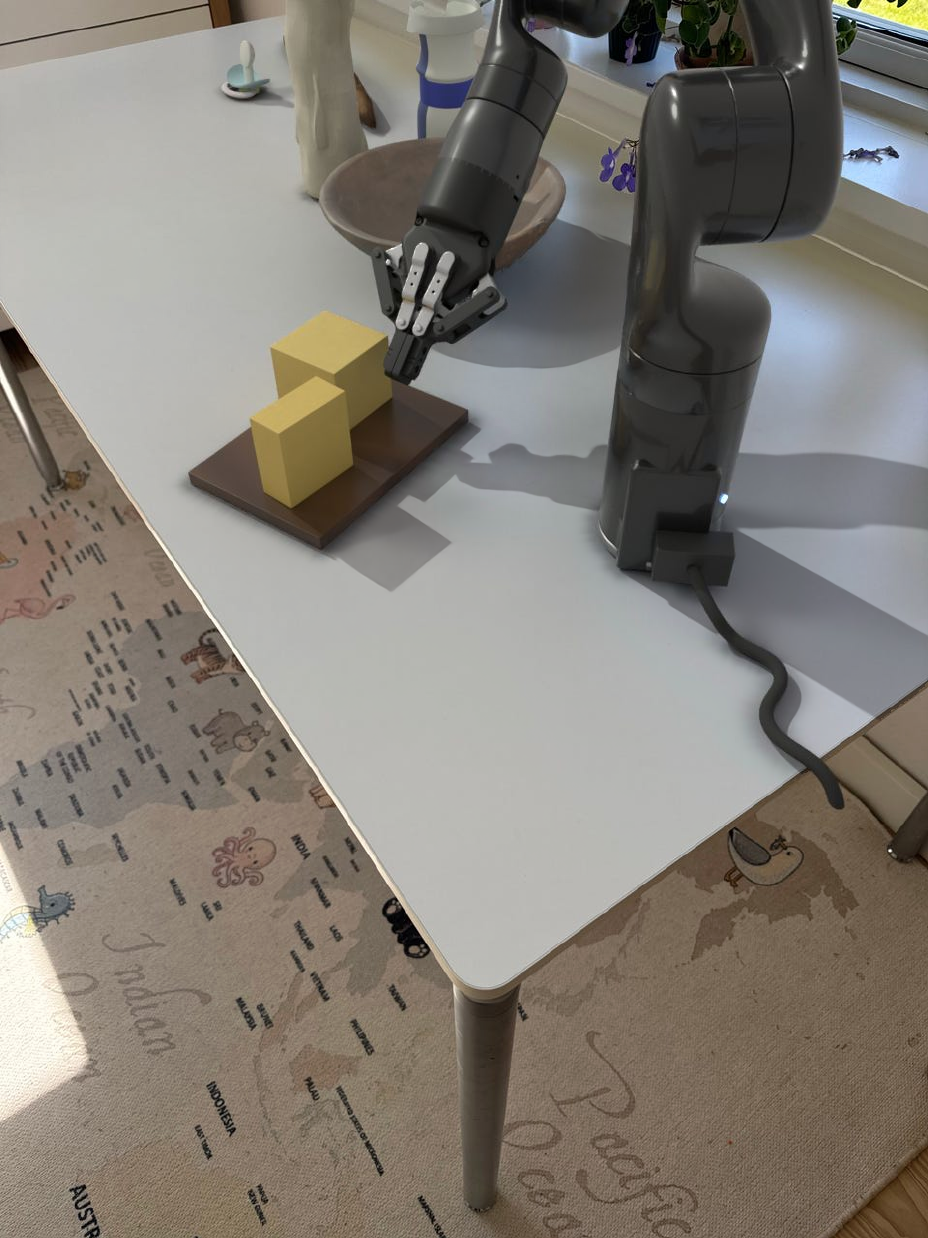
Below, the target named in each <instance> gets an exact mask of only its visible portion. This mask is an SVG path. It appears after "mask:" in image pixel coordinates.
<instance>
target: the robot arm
mask: <svg viewBox="0 0 928 1238" xmlns="http://www.w3.org/2000/svg"><path fill="white" fill-rule="evenodd" d="M629 2H630V0H494V2H493V8H492V13H491V19H490V24H489V28H488V33H487V37H486V41H485V46H484V49H483V53H482V55H481V59H480V61H479V66H478V69H477V72H476V74H475V76H474V79H473V81H472V84H471V86H470V89H469V91H468V93H467V96H466V98H465V101H464V103H463V105H462V107H461V109H460V111H459V113H458V115H457V116H456V118H455V120H454V121H453V123H452V125H451V127H450V129H449V131H448V133H447V136H446V138H445V141H444V143H443V145H442V148H441V150H440V153H439V155H438V158H437V160H436V162H435V165H434V167H433V170H432V172H431V175H430V177H429V179H428V182H427V184H426V187H425V189H424V192H423V194H422V197H421V199H420V201H419V204H418V206H417V214H416V220H415V223H414V225H413V226H412V228H411V229H410V230H409V231H408V232H407V233H406V234H405V235H404V237H403V239H402V243H401V245H398V246H396V247H394V248H392V249H389V250H387V251H384V250H383V249H382V248H379V247H378V248H375V249H374V250H373V251H372V253H371V257H370V258H371V264H372V270H373V275H374V278H375V279H374V280H375V284H376V289H377V294H378V299H379V304H380V310H381V313H382V315H383V316H385V317H386V318H388V320H390V322H392V324H393V325H394V328H395V329H394V334H393V336H392V339H391V340H390V342H389V349H388V351H387V354H386V355H385V358H384V361H383V367H385V370H384V374H385V376H387V377H389V378H391V379H392V380H395V381H397V382H400V383H402V384H405V385H409V386H410V384H411V383H412V381H416V380H417V378H418V377H419V376H420V374H421V372H422V369H423V367H424V364H425V362H426V360H427V358H428V355H429V353H430V351H431V350H430V349H431V348H432V347H433V346H434V345H435V344H437V343H438V344H439V343H447V344H449V345H455V344H456V343H458V342H460V341H461V340H463V339H464V338H465V337H468V336H469V335H470V334H472V333H473V332H474V331H476V330H477V329H479V328H480V327H482V326H483V325H484V324H486V323H488V322H490V321H491V320H492V319H494V318H495V317H497V316H498V315H500V314H501V313H502V312H504V311H505V310H506V309H507V308H508V306H509V301H508V298H506V297H505V295H504V294H503V293H502V292H501V291H500V289H499V288H498V285H497V284H496V281H495V280H494V277H495V274H496V273H495V271H496V256H497V253H498V252H499V251H500V250H501V249H502V247H503V245H504V242H505V240H506V238H507V235H508V233H509V231H510V228H511V226H512V223H513V221H514V219H515V216H516V214H517V212H518V209H519V207H520V205H521V202H522V200H523V197H524V195H525V193H526V192H527V190H528V188H529V185H530V181H531V179H532V176H533V173H534V171H535V168H536V164H537V161H538V157H539V156H540V153H541V149H542V148H543V144H544V141H545V139H546V137H547V135H548V133H549V131H550V128H551V125H552V123H553V120H554V118H555V115H556V113H557V112H558V109H559V106H560V104H561V101H562V99H563V96H564V94H565V92H566V88H567V85H568V80H569V79H568V78H569V74H568V73H569V72H568V69H567V66H566V64H565V62H564V61H563V59H562V58H561V57H560V56H559V55H558V54H557V53H556V52H555V51H554V50H553V49H551V48H550V47H549V46H548V45H546V44H545V43H543V42H542V41H541V40H540V39H538V38H536V37H535V36H534V35H532V33H530V32H529V31H528V30H527V27H528V24H529V21H530V20H531V19H532V20H536V21H539V22H540V23H544V24H546V25H549V26H552V27H554V28H558V29H560V30H563V31H566V32H568V33H571V34H574V35H576V36H580V37H582V38H587V39H599V38H602V37H603V36H605V35H607V34H608V33H609V32H611V31H612V30H613V29H615V27H616V26H617V25H618V24H619V23H620V21H621V19H622V18H623V16H624V14H625V13H626V10H627V8H628V6H629ZM738 2H739V4H740V5H739V6H740V7H741V12H742V14H743V17H744V20H745V25H746V28H747V32H748V36H749V37H748V38H749V42H750V46H751V52H752V57H753V63H754V65H745V66H743V65H742V66H723V67H722V66H721V67H701V68H699V67H698V68H687V69H685V68H684V69H676V70H672V71H669V72H667V73H665V74H663V75H662V76H661V77H660V78H658V79H657V81H656V83H655V84H654V85H653V86H652V89H651V91H650V93H649V95H648V97H647V99H646V103H645V106H644V109H643V112H642V116H641V123H640V127H639V134H638V141H637V143H638V144H637V154H636V164H635V165H636V166H635V180H634V183H635V184H634V199H633V212H632V213H633V214H632V215H633V216H632V224H631V225H632V226H631V238H630V247H629V257H628V265H627V277H626V293H625V307H624V317H623V325H622V333H621V340H620V348H619V350H620V351H619V357H618V365H617V372H616V379H615V386H614V395H613V402H612V409H611V410H612V411H611V418H610V426H609V435H608V441H607V449H606V458H605V464H604V466H605V467H604V473H603V481H602V489H601V490H602V491H601V499H600V507H599V509H598V512H597V520H596V530H597V531H596V533H597V535H598V538H599V540H600V542H601V543H602V545H603V546H604V548H605V549H606V550H607V551H608V552H609V553H610V554H611V555H613V556H614V557H615V560H616V562H615V563H616V567H617V568H619V569H625V570H638V571H650V573H651V574H650V575H651V579H650V580H651V581H652V582H661V583H674V584H686V585H687V584H688V585H691V586H692V587H693V589H694V592H695V595H696V596H697V599H698V601H699V603H700V605H701V607H702V610H704V612H705V614H706V616H707V617H708V619H709V621H710V622H711V624H712V625H713V627H714V628H715V629H716V631H717V633H719V635H720V636H721V637H722V638H723V639H724V640H725V641H726V642H727V643H728V644H729V645H730V646H731V647H733V648H734V649H736V650H737V651H739V652H740V653H742V654H744V655H746V656H747V657H749V658H752V659H754V660H756V661H758V662H759V663H761V664H763V665H764V666H766V667H767V668H768V669H769V671H770V672H771V674H772V676H773V682H772V684H771V686H770V687H769V688H768V690H767V692H766V693H765V695H764V697H763V698H762V700H761V702H760V704H759V708H758V720H759V723H760V724H759V725H760V726H761V728H762V731H763V733H764V735H766V737H767V738H768V740H770V741H771V742H772V743H773V744H774V746H776V747H777V748H778V749H780V750H781V751H783V752H784V753H786V754H787V755H788V756H790V757H791V758H793V759H794V760H796V761H797V762H799V763H800V764H801V765H803V766H804V767H806V768H807V769H808V770H809V771H810V772H812V774H813V775H814V776H815V777H816V778H817V779H818V781H819V782H820V784H821V786H822V788H823V790H824V793H825V795H826V799H827V802H828V803H829V805H830V806H831V808H833V809H835V810H837V811H838V810H839V811H841V810H843V809H845V807H846V805H845V799H844V796H843V795H844V794H843V791H842V788H841V786H840V784H839V782H838V779H837V778H836V775H835V774H834V772H833V771H832V770H831V769H830V767H829V766H828V765H827V764H826V762H824V761H823V760H822V759H821V758H820V757H818V756H817V755H816V754H815V753H813V752H812V751H811V750H809V749H808V748H806V746H803V745H801V744H800V743H798V742H797V741H796V740H794V739H793V738H792V737H790V736H788V735H787V734H786V733H785V731H783V730H782V729H781V728H780V727H779V725H778V724H777V721H776V719H775V716H774V713H775V710H776V707H777V705H778V704H779V702H780V701H781V699H782V697H783V696H784V694H785V692H786V690H787V688H788V683H789V675H788V674H789V673H788V671H787V668H786V666H785V664H784V662H783V661H782V660H781V659H780V658H779V657H778V656H777V655H775V654H774V653H773V652H772V651H769V650H768V649H766V648H764V647H762V646H760V645H757V644H756V643H753V642H751V641H750V640H748V639H746V638H745V637H743V636H742V635H740V633H738V631H736V629H734V628H733V627H732V626H731V624H730V623H729V622H728V620H727V619H726V617H725V616H724V615H723V613H722V611H721V610H720V608H719V606H718V605H717V603H716V601H715V599H714V597H713V595H712V593H711V591H710V589H709V587H708V586H711V587H712V586H713V587H723V588H727V587H728V585H729V580H730V577H731V574H732V570H733V567H734V563H735V560H736V551H735V550H736V549H735V540H734V539H735V538H734V532H731V531H721V525H722V521H723V519H724V513H725V510H726V506H727V500H728V498H729V493H730V488H731V485H732V481H733V477H734V474H735V470H736V469H735V468H736V465H737V461H738V456H739V452H740V448H741V444H742V441H743V437H744V432H745V429H746V426H747V425H746V424H747V420H748V416H749V413H750V409H751V405H752V404H751V403H752V401H753V396H754V392H755V388H756V385H757V381H758V377H759V373H760V369H761V365H762V360H763V356H764V353H765V348H766V344H767V341H768V337H769V333H770V328H771V324H772V306H771V302H770V299H769V298H768V296H767V294H766V293H765V292H764V290H762V288H761V287H760V285H758V284H757V283H755V282H754V281H753V280H751V279H750V278H749V277H747V276H745V275H744V274H741V273H740V272H738V271H736V270H734V269H731V268H729V267H726V266H723V265H720V264H718V263H716V262H712V261H708V260H706V259H703V258H701V257H699V256H696V254H697V250H698V249H699V247H705V246H726V245H744V244H745V245H746V244H761V243H777V242H789V241H796V240H801V239H806V238H808V237H811V236H813V235H815V233H817V232H819V230H821V228H822V227H823V226H824V225H825V223H826V222H827V221H828V218H829V217H830V215H831V214H832V211H833V209H834V206H835V204H836V200H837V197H838V194H839V189H840V186H841V178H842V172H843V171H842V170H843V162H844V148H845V147H844V145H845V142H844V140H845V139H844V138H845V136H844V134H845V131H844V129H845V124H844V123H845V122H844V121H845V120H844V105H843V95H842V83H841V74H840V65H839V64H840V63H839V57H838V56H839V55H838V49H837V39H836V30H835V23H834V14H833V6H832V0H738ZM404 266H405V272H406V274H404ZM403 275H405V277H406V280H405V284H404V286H403V284H402V279H401V277H402V276H403ZM470 296H471V297H470ZM469 297H470V298H469ZM467 298H469V299H467ZM466 299H467V300H466ZM464 300H466V301H465V302H464V303H462V302H463V301H464ZM461 303H462V304H461Z"/></svg>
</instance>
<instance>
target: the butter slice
mask: <svg viewBox="0 0 928 1238" xmlns="http://www.w3.org/2000/svg"><path fill="white" fill-rule="evenodd" d="M249 423H250V427H251V429H252V434H253V439H254V444H255V449H256V454H257V460H258V465H259V470H260V475H261V480H262V485H263V490H264V492H265V493H266V494H268V495H270V496H271V497H273V498H275V499H276V500H278V501H280V502H281V503H283V504H285V505H286V506H288V507H290V508H293V507H294V506H296V505H297V504H299V503H300V502H301V501H303V500H304V499H306V498H307V497H309V496H310V495H311V494H313V493H314V492H316V491H317V490H319V489H320V488H321V487H323V486H324V485H326V484H327V483H328V482H330V481H331V480H333V479H334V478H336V477H337V476H338V475H340V474H341V473H343V472H344V471H345V470H347V469H348V468H350V467H351V466H353V458H352V448H351V439H350V430H349V420H348V411H347V402H346V392H345V391H344V390H342V389H340V388H338V387H336V386H335V385H333V384H331V383H329V382H327V381H325V380H323V379H321V378H319V377H317V376H315V377H314V378H312V379H311V380H309V381H307V382H306V383H304V384H303V385H301V386H299V387H298V388H296V389H295V390H293V391H291V392H290V393H288V394H287V395H285V396H283V397H282V398H280V399H277V400H275V401H273V402H271V404H269V405H267V406H266V407H264V408H262V409H261V410H258V411H257V412H256V413H254V414H252V415H251V416H250V417H249Z"/></svg>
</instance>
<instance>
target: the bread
mask: <svg viewBox="0 0 928 1238" xmlns="http://www.w3.org/2000/svg"><path fill="white" fill-rule="evenodd" d="M282 39H283V40H282V41H283V45H284V46H285V39H284V35H282ZM354 80H355V87H356V94H357V102H358V110H359V118H360V122H361V124H364V125H366V126H367V127H369V128H370V129H376V128H377V120H376V114H375V108H374V103H373V101H372V98H371V97H370V95H369V93H368V91H367V90H366V88H365V87H364V85H363V83H362V81H361V80H360V78H359V76H358V75H357V74H356V72H355V71H354Z"/></svg>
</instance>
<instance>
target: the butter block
mask: <svg viewBox="0 0 928 1238" xmlns="http://www.w3.org/2000/svg"><path fill="white" fill-rule="evenodd" d="M389 346H390V341H389V335H388V334H386V333H383V332H381V331H378V330H376V329H373V328H371V327H368V326H366V325H363V324H361V323H358V322H356V321H353V320H352V319H351V320H350V319H348V318H345V317H343V316H341V315H338V314H335V313H332V312H331V311H328V310H323V311H321V312H319V314H317V315H315V316H314V317H313V318H311V319H309V320H308V321H306V322H305V323H303V324H302V325H301V326H299V327H297V328H296V329H294V330H293V331H291V332H289V333H288V334H287V335H285V336H284V337H282V338H281V339H279V340H277V341H276V342H274V343H273V344H272V345H270V346H269V351H270V357H271V362H272V368H273V369H272V370H273V374H274V379H275V386H276V393H277V397H278V399H280V398H282V397H283V396H285V395H287V394H288V393H290V392H291V391H293V390H295V389H296V388H298V387H299V386H301V385H303V384H304V383H306V382H307V381H309V380H311V379H312V378H314V377H315V376H317V377H319V378H321V379H323V380H325V381H327V382H329V383H331V384H333V385H335V386H336V387H338V388H340V389H342V390H344V391H345V392H346V402H347V411H348V420H349V430H351V429H352V428H353V427H355V426H356V425H357V424H358V423H360V422H361V421H362V420H364V419H365V418H366V417H367V416H369V415H370V414H371V413H372V412H374V411H375V410H376V409H378V408H379V407H380V406H381V405H383V404H384V403H385V402H387V401H388V400H389V399H390V398H392V386H391V378H389V377H387V376H385V374H384V370H385V367H383V361H384V358H385V355H386V354H387V351H388V349H389ZM278 399H277V400H278Z"/></svg>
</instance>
